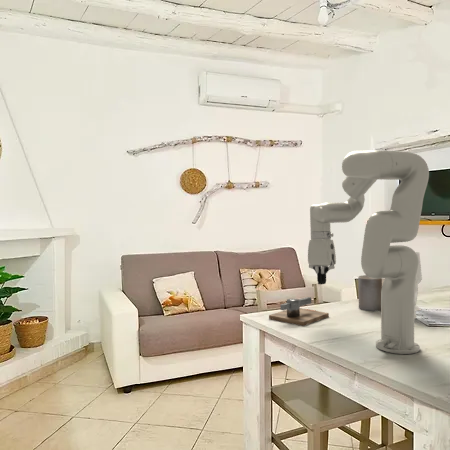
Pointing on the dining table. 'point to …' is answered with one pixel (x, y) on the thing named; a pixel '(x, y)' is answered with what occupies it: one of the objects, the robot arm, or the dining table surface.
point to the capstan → (295, 306)
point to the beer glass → (415, 297)
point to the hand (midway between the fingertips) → (321, 283)
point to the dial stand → (300, 317)
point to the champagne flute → (418, 275)
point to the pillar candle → (369, 293)
